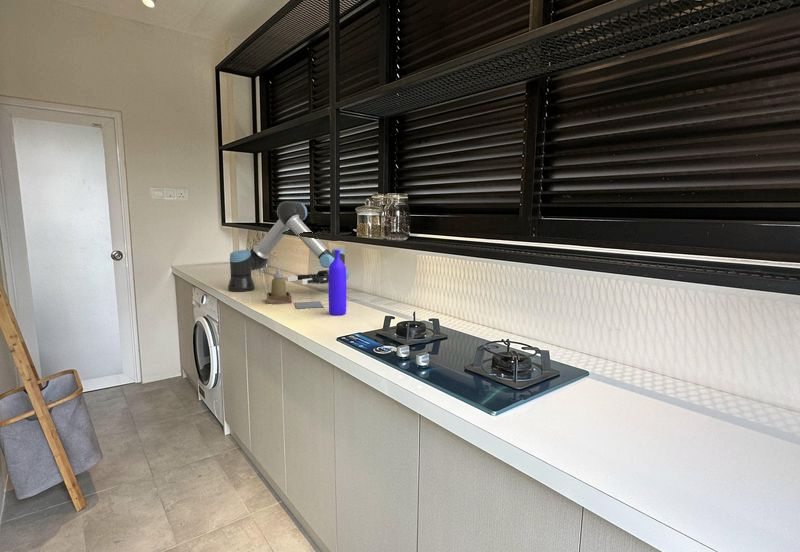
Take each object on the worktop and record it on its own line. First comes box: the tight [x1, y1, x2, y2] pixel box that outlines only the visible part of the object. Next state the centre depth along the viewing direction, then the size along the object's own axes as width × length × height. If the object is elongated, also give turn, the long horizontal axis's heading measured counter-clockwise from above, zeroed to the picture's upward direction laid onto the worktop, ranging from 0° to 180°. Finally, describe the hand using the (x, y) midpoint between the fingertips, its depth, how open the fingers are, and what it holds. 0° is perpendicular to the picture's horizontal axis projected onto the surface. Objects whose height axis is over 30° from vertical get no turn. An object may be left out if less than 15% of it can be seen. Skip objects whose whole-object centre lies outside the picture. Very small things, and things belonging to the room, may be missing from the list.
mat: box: [294, 300, 324, 310], centre depth 210 cm, size 13×13×1 cm
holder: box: [266, 291, 293, 305], centre depth 218 cm, size 12×12×4 cm
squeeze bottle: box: [270, 267, 287, 296], centre depth 217 cm, size 8×8×18 cm
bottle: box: [327, 250, 347, 317], centre depth 192 cm, size 8×8×30 cm
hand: (294, 280), depth 224 cm, fingers open, 13 cm apart
